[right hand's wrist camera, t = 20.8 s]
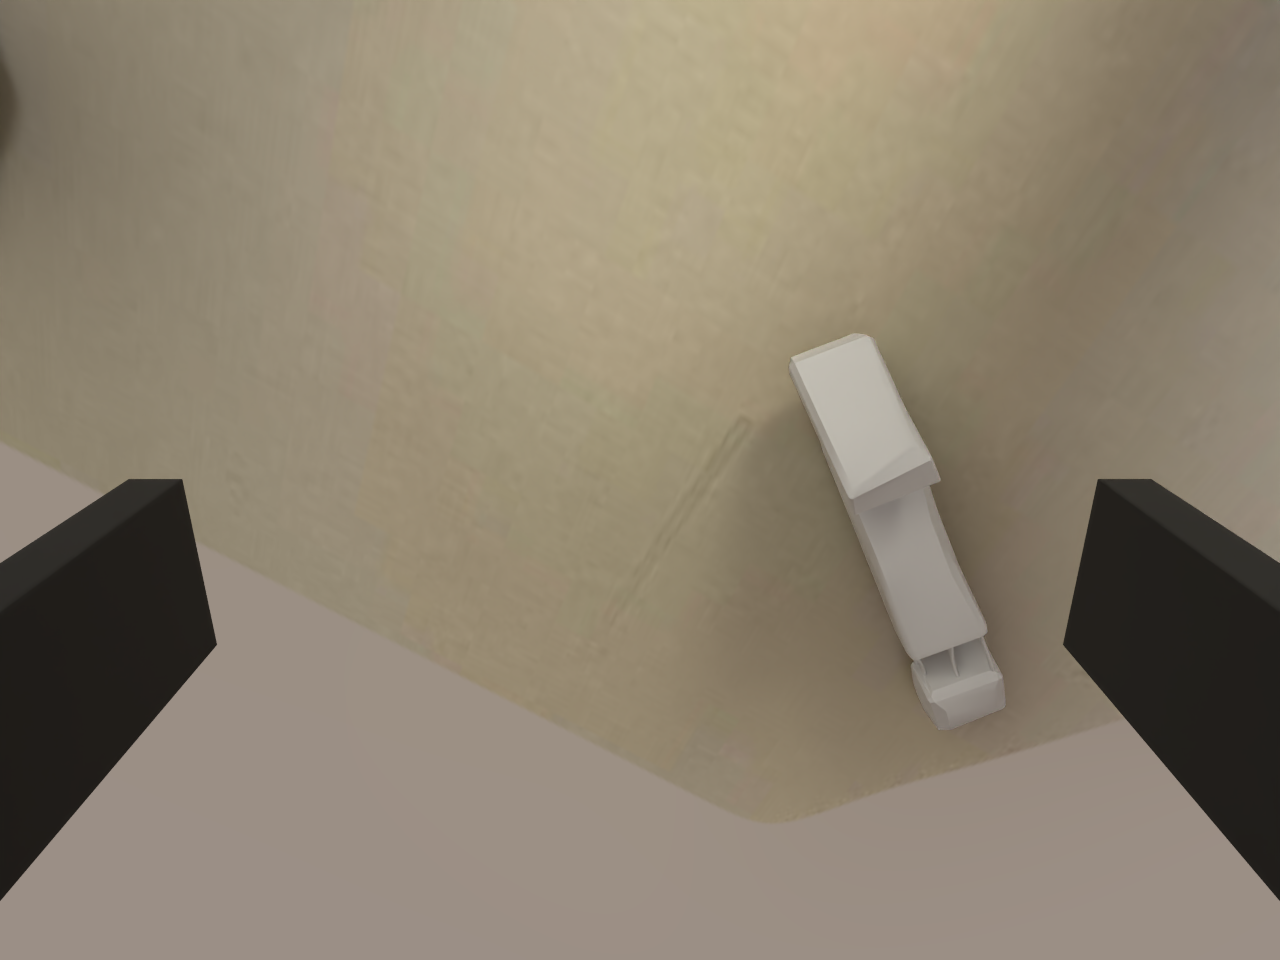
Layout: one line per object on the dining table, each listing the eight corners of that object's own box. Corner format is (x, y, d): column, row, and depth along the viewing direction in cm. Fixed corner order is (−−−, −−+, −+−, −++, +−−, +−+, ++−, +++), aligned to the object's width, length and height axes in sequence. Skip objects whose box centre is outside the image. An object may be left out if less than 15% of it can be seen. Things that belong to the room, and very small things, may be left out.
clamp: (776, 352, 36) (810, 414, 30) (860, 315, 36) (912, 370, 29) (910, 685, 45) (958, 786, 39) (980, 660, 44) (1040, 758, 38)
